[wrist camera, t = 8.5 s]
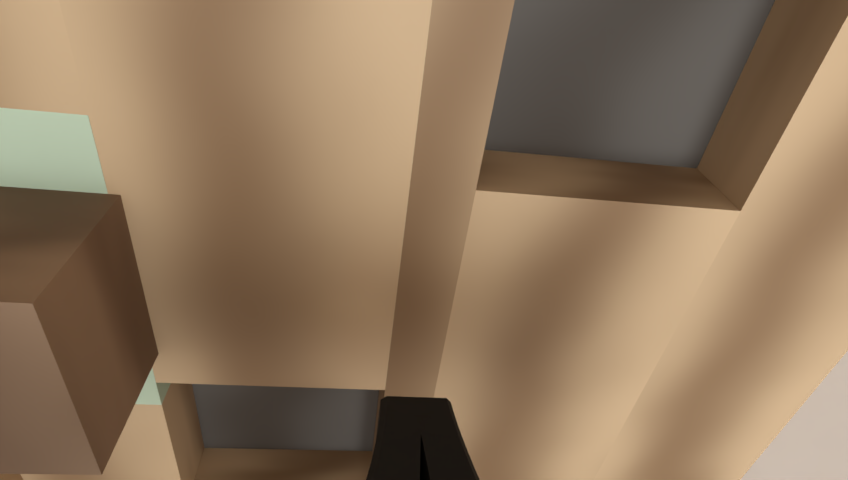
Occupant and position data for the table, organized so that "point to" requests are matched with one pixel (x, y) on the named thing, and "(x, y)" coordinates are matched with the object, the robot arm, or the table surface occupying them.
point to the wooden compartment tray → (464, 223)
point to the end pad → (57, 171)
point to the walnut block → (68, 330)
